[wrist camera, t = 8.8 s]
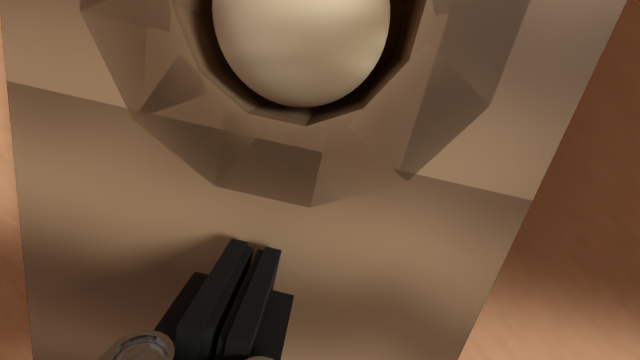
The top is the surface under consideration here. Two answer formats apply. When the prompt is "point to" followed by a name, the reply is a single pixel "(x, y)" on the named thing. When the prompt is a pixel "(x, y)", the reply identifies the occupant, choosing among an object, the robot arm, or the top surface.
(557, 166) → the top surface
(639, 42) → the top surface
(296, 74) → the ball
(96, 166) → the board
